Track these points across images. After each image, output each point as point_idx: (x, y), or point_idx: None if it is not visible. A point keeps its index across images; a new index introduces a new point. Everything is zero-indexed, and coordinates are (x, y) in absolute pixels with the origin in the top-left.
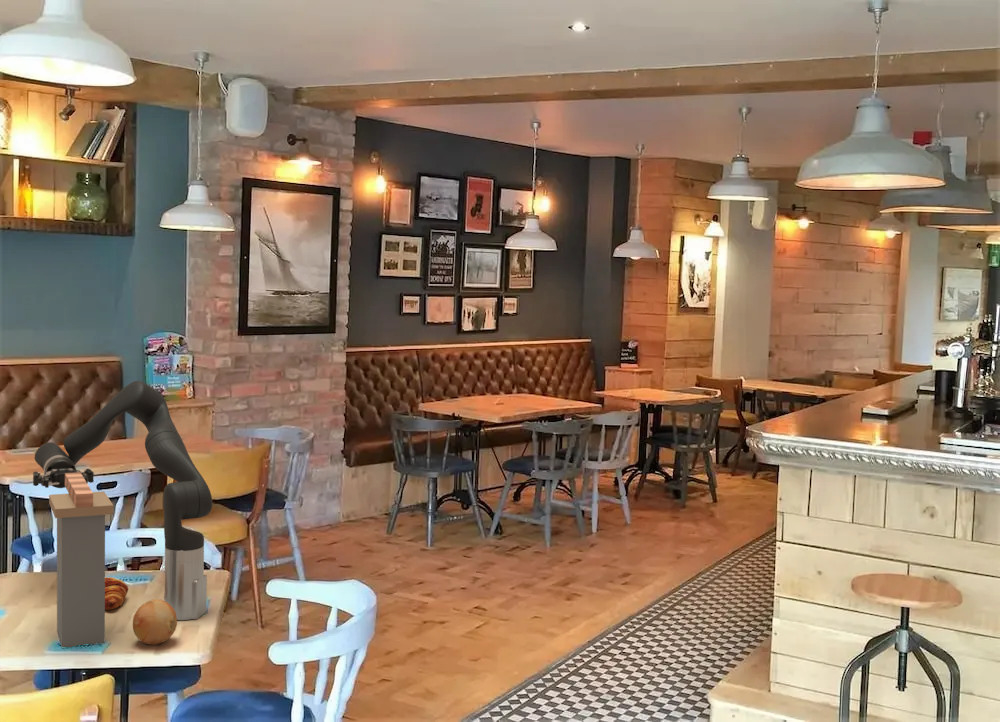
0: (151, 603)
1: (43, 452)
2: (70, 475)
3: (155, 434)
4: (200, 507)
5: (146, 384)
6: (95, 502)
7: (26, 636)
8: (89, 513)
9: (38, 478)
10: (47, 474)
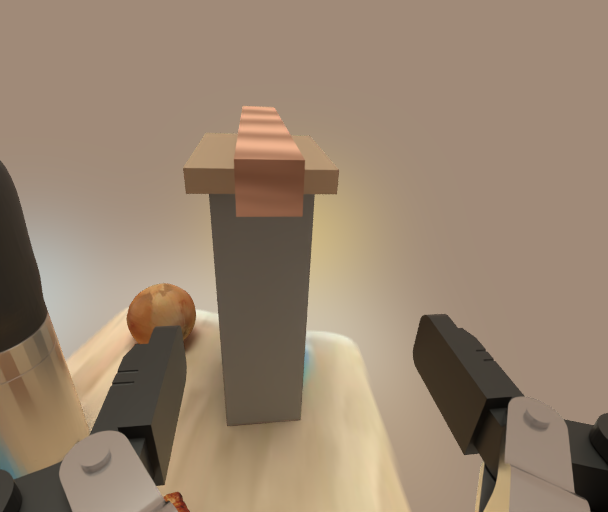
0: (166, 284)
1: None
2: (280, 146)
3: None
4: None
5: None
6: (233, 140)
7: (349, 410)
8: None
9: (567, 421)
10: (539, 476)
